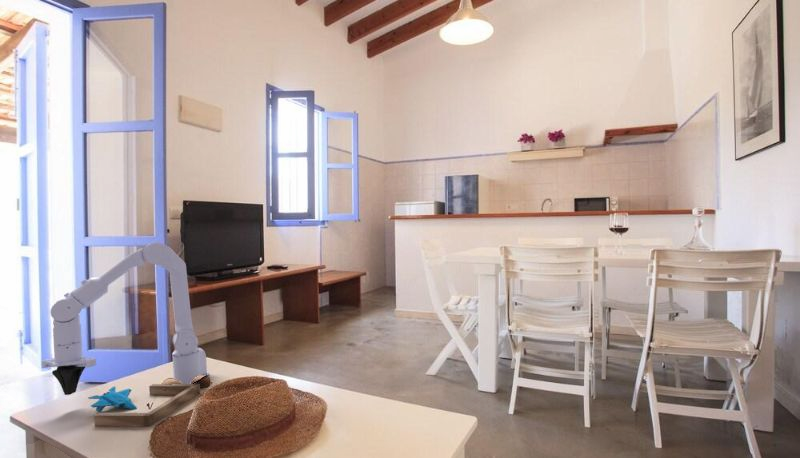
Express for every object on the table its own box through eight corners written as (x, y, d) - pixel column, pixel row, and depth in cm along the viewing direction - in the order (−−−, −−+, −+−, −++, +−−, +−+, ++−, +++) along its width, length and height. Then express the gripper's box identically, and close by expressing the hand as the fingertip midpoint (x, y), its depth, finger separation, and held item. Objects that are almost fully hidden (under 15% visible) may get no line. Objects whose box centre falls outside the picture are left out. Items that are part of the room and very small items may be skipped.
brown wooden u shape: (153, 392, 113) (153, 384, 113) (200, 392, 111) (199, 383, 111) (94, 426, 94) (94, 415, 94) (149, 426, 93) (148, 415, 93)
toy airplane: (83, 419, 99) (82, 403, 99) (97, 403, 108) (96, 388, 108) (137, 410, 103) (136, 394, 103) (146, 395, 112) (145, 380, 112)
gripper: (28, 347, 103) (31, 399, 103) (77, 347, 101) (80, 399, 101) (55, 340, 110) (57, 388, 110) (101, 339, 108) (104, 388, 108)
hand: (70, 393), depth 106 cm, fingers closed
